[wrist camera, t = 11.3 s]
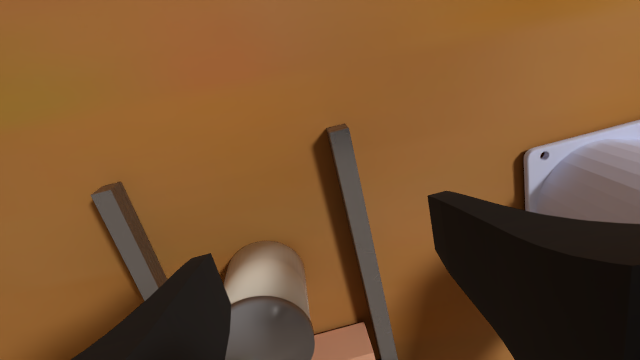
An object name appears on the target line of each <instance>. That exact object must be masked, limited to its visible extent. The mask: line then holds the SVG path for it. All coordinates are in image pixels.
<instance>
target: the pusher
mask: <svg viewBox="0 0 640 360" xmlns="http://www.w3.org/2000/svg"><path fill="white" fill-rule="evenodd" d="M314 340H315V348H314V353H313V356H312V359H311V360H375V356H374V352H373V349H372V346H371V342H370V339H369V336H368V333H367V330H366V326H365V323H364V322H362V323H358V324H354V325H351V326H347V327H343V328H340V329H336V330H332V331H329V332H325V333H321V334H317V335H314Z"/></svg>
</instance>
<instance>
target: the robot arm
mask: <svg viewBox="0 0 640 360" xmlns="http://www.w3.org/2000/svg"><path fill="white" fill-rule="evenodd" d="M543 152H544V156H543V157H542V158H540V156H541V154H542V153H543ZM524 184H525V210H520V209H515V208H511V207H507V206H503V205H499V204H495V203H492V202H488V201H484V200H481V199H477V198H474V197H470V196H466V195H463V194H459V193H455V192H450V191H444V192H440V193H436V194H432V195H429V196H428V202H429V209H430V216H431V224H432V231H433V238H434V245H435V250H436V252H437V253H438V255H439V257H440V259H441V260H442V262H443V264H444V265H445V267H446V269H447V270H448V272H449V273H450V275H451V276H452V277H453V279H454V280H455V281H456V282H457V284H458V285H459V286H460V287H461V289H462V290H463V291H464V292H465V294H466V295H467V296H468V297H469V299H470V300H471V301H472V302H473V304H474V305H475V306H476V307H477V308H478V310H479V311H480V312H481V313H482V315H483V316H484V317H485V318H486V320H487V321H488V322H489V323H490V324H491V326H492V327H493V328H494V330H495V331H496V332H497V334H498V335H499V336H500V338H501V339H502V341H503V342H504V344H505V345H506V347H507V348H508V350H509V351H510V353H511V354H512V356H513V357H514V359H515V360H640V120H637V121H633V122H629V123H625V124H622V125H618V126H614V127H610V128H607V129H603V130H599V131H595V132H591V133H588V134H584V135H580V136H576V137H572V138H569V139H565V140H561V141H557V142H553V143H550V144H546V145H542V146H538V147H534V148H531V149H529V150H528V151H527V152H526V153H525V155H524ZM230 322H231V302H230V300H229V297H228V295H227V292H226V290H225V287H224V285H223V282H222V280H221V278H220V275H219V273H218V270H217V268H216V265H215V263H214V260H213V258H212V255H211V253H210V254H206V255H202V256H198V257H195V258H192V259H190V260H189V261H188V262H186V263H185V264H184V265H183V266H182V267H181V268H180V269H178V270H177V271H176V272H175V273H174V274H173V275H172V276H171V277H170V278H169V279H168V280H167V281H166V282H165V283H164V284H163V285H162V286H161V287H159V288H158V289H157V290H156V291H155V292H154V293H153V294H152V295H151V296H150V297H149V298H148V299H147V300H146V301H144V302H143V303H142V304H141V305H140V306H139V307H138V308H137V309H135V310H134V311H133V312H132V313H131V314H130V315H129V316H127V317H126V318H125V319H124V320H123V321H122V322H121V323H119V324H118V325H117V326H116V327H114V328H113V329H112V330H111V331H109V332H108V333H107V334H106V335H104V336H103V337H102V338H100V339H99V340H98V341H96V342H95V343H94V344H92V345H91V346H90V347H88V348H87V349H86V350H84V351H83V352H81V353H80V354H79V355H77V356H76V357H74V358H73V359H71V360H225V356H226V351H227V345H228V340H229V334H230Z"/></svg>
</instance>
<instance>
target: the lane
mask: <svg viewBox="0 0 640 360" xmlns="http://www.w3.org/2000/svg"><path fill="white" fill-rule="evenodd" d="M326 130H327V134H328V138H329V142H330V147H331V151H332V155H333V159H334V164H335V168H336V172H337V176H338V181H339V185H340V189H341V193H342V198H343V202H344V206H345V210H346V215H347V219H348V223H349V227H350V232H351V236H352V240H353V244H354V249H355V253H356V257H357V261H358V266H359V270H360V274H361V278H362V283H363V287H364V291H365V295H366V300H367V304H368V308H369V312H370V317H371V321H372V325H373V329H374V334H375V338H376V342H377V346H378V351H379V355H380V358H381V359H379V360H398V358H397V353H396V348H395V344H394V339H393V334H392V329H391V325H390V320H389V315H388V311H387V306H386V301H385V296H384V292H383V287H382V282H381V278H380V273H379V268H378V263H377V259H376V254H375V249H374V245H373V240H372V235H371V231H370V226H369V221H368V216H367V212H366V207H365V202H364V198H363V193H362V188H361V183H360V179H359V174H358V169H357V165H356V160H355V155H354V150H353V146H352V141H351V136H350V132H349V128H348V127H347V126H346V124H341V125H337V126H333V127H329V128H326ZM91 197H92V199H93V201H94V203H95V205H96V207H97V209H98V211H99V213H100V214H101V216H102V218H103V220H104V222H105V224H106V226H107V228H108V230H109V232H110V234H111V236H112V238H113V240H114V242H115V244H116V246H117V248H118V250H119V252H120V254H121V256H122V258H123V260H124V262H125V263H126V265H127V267H128V269H129V271H130V273H131V275H132V277H133V279H134V281H135V283H136V285H137V287H138V289H139V291H140V293H141V295H142V297H143V299H144V301H146V300H147V299H148V298H149V297H150V296H151V295H152V294H153V293H154V292H155V291H156V290H157V289H158V288H159V287H161V286H162V285H163V284H164V283H165V282H166V281H167V278H166V276H165V274H164V272H163V270H162V268H161V266H160V263H159V261H158V259H157V257H156V255H155V253H154V251H153V249H152V246H151V244H150V242H149V240H148V238H147V236H146V234H145V232H144V229H143V227H142V225H141V223H140V221H139V219H138V217H137V215H136V212H135V210H134V208H133V206H132V204H131V202H130V200H129V198H128V195H127V193H126V191H125V189H124V187H123V185H122V183H121V182H117V183H114V184H110V185H106V186H102V187H101V188H99V189H98V190H97V191H95V192H94V193H93V194H91Z"/></svg>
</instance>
